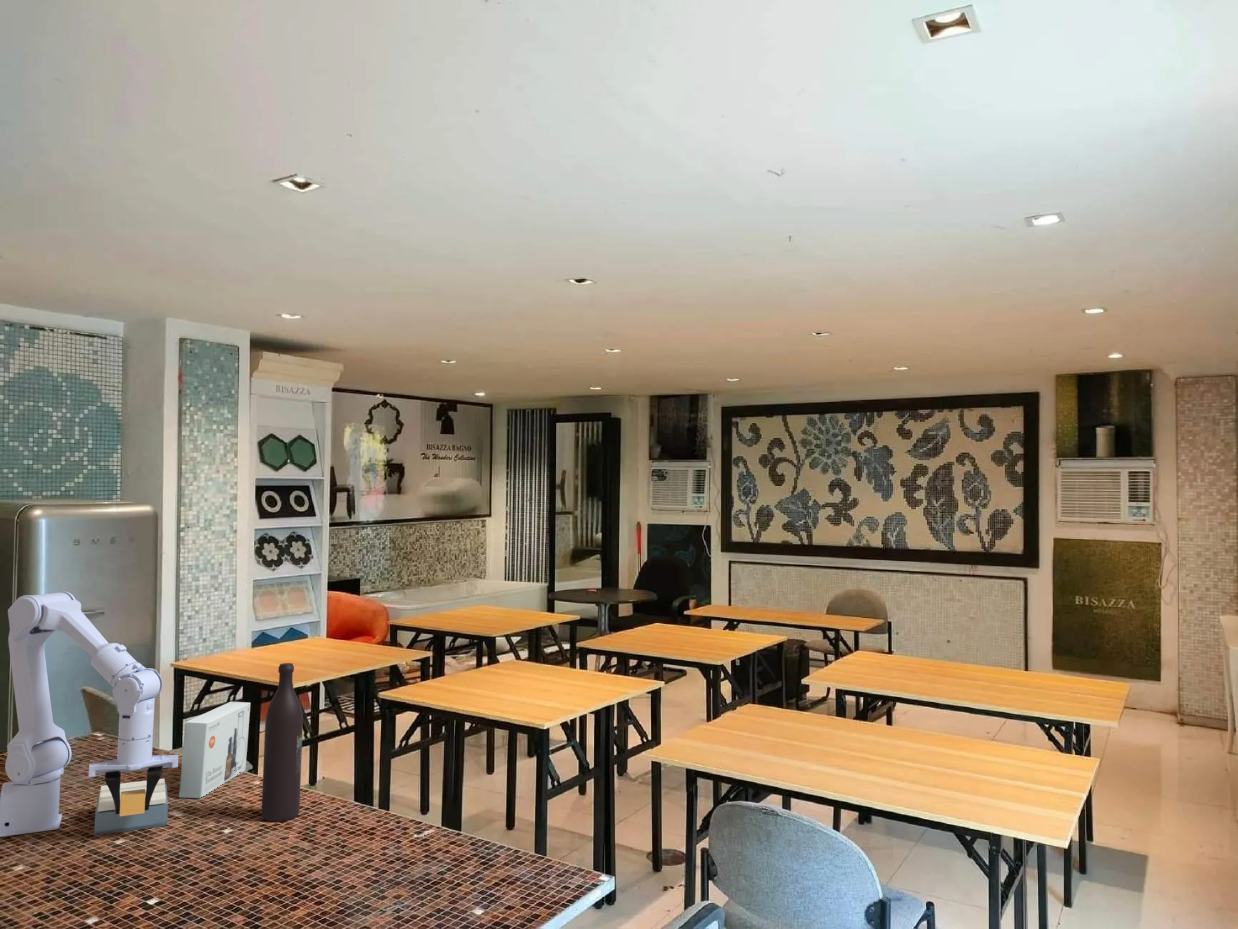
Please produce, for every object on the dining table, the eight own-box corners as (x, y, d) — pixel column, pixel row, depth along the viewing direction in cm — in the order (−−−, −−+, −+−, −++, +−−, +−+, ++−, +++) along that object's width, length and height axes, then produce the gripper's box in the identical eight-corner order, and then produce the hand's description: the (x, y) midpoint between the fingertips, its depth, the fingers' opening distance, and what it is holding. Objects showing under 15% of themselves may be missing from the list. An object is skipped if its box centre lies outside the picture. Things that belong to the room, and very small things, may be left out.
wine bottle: (299, 820, 170) (305, 666, 172) (261, 824, 168) (267, 668, 169) (298, 808, 177) (304, 660, 179) (261, 812, 174) (267, 662, 176)
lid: (96, 819, 157) (97, 799, 157) (101, 789, 173) (102, 771, 173) (166, 810, 162) (167, 790, 163) (164, 782, 179) (165, 764, 179)
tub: (94, 835, 160) (95, 813, 161) (97, 812, 173) (98, 791, 173) (167, 825, 166) (167, 804, 166) (165, 803, 178) (166, 783, 179)
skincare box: (203, 799, 181) (206, 722, 182) (177, 799, 182) (181, 722, 182) (248, 769, 202) (251, 701, 203) (225, 769, 203) (228, 700, 203)
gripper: (89, 746, 155) (85, 823, 154) (179, 737, 162) (176, 811, 161) (91, 736, 161) (87, 811, 160) (178, 728, 168) (175, 800, 167)
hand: (132, 810), depth 161 cm, fingers closed on lid, 4 cm apart
